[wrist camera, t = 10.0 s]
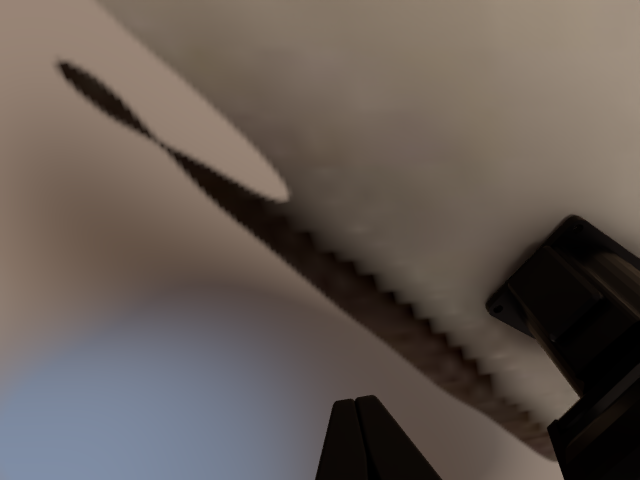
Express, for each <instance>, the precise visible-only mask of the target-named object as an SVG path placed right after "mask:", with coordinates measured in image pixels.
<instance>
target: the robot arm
mask: <svg viewBox="0 0 640 480" xmlns="http://www.w3.org/2000/svg"><path fill="white" fill-rule="evenodd" d="M576 225H578V226H577V227H576V228H575V229H573V228H574V227H575V226H576ZM498 305H499V306H498ZM496 306H498V307H496ZM495 307H496V308H495ZM486 309H487V311H488V312H489V314H490V315H491V316H493V317H495V318H497V319H499V320H500V321H502V322H504V323H506V324H508V325H510V326H512V327H514V328H515V329H517V330H519V331H521V332H523V333H525V334H527V335H529V336H531V337H532V338H534V339H536V340H537V341H538V343H539V344H540V345H541V347H542V348H543V349H544V351H545V352H546V353H547V355H548V356H549V357H550V359H551V360H552V361H553V363H554V364H555V365H556V367H557V368H558V369H559V371H560V372H561V373H562V375H563V376H564V377H565V379H566V380H567V381H568V383H569V384H570V385H571V387H572V388H573V389H574V391H575V392H576V393H577V394H578V396H579V397H580V399H579V400H578V401H577V402H576V403H575V404H574V405H573V406H572V407H571V408H570V409H569V410H568V411H567V412H566V413H565V414H564V415H563V416H562V417H561V418H560V419H559V420H556V419H555V420H554V421H553V422H552V423H551V424H550V425H549V426H548V427H547V430H548V433H549V436H550V439H551V442H552V445H553V448H554V451H555V454H556V457H557V460H558V463H559V466H560V468H561V472H562V475H563V477H564V480H640V259H639V258H638V257H636V256H635V255H633V254H632V253H631V252H629V251H628V250H626V249H625V248H624V247H622V246H621V245H619V244H618V243H617V242H615V241H614V240H612V239H611V238H610V237H608V236H607V235H605V234H604V233H603V232H601V231H600V230H598V229H597V228H596V227H594V226H593V225H591V224H590V223H589V222H587V221H586V220H584V219H583V218H582V217H579V216H573V217H571V218H569V219H568V220H566V221H565V223H564V224H563V225H562V226H561V227H560V228H559V229H558V230H557V231H556V232H555V233H554V234H553V235H552V236H551V237H550V238H549V239H548V240H547V241H546V242H545V243H544V244H543V245H542V246H541V247H540V248H539V249H538V250H537V251H536V252H535V253H534V254H533V255H532V256H531V257H530V258H529V259H528V260H527V262H526V263H525V264H524V265H523V266H522V267H521V268H520V269H519V270H518V271H517V272H516V273H515V274H514V275H513V276H512V277H511V278H510V279H509V280H508V281H507V282H506V283H505V284H504V285H503V286H502V287H501V288H500V289H499V290H498V291H497V292H496V293H495V294H494V295H493V296H492V297H491V298H490V299H489V300H488V302H487V303H486ZM315 480H442V479H441V478H440V476H439V475H438V474H437V472H436V471H435V470H434V469H433V467H432V466H431V465H430V464H429V462H428V461H427V460H426V459H425V457H424V456H423V455H422V453H421V452H420V451H419V450H418V449H417V447H416V446H415V445H414V443H413V442H412V441H411V440H410V438H409V437H408V436H407V435H406V433H405V432H404V431H403V429H402V428H401V427H400V426H399V425H398V423H397V422H396V421H395V419H394V418H393V417H392V416H391V414H390V413H389V412H388V411H387V409H386V408H385V407H384V405H383V404H382V403H381V402H380V400H379V399H378V398H377V397H376V396H374V395H369V396H363V397H358V398H356V399H355V401H354V400H353V399H345V400H339V401H336V402H335V403H334V404H333V407H332V411H331V415H330V420H329V424H328V428H327V432H326V436H325V440H324V445H323V449H322V453H321V457H320V461H319V466H318V470H317V474H316V478H315Z"/></svg>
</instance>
